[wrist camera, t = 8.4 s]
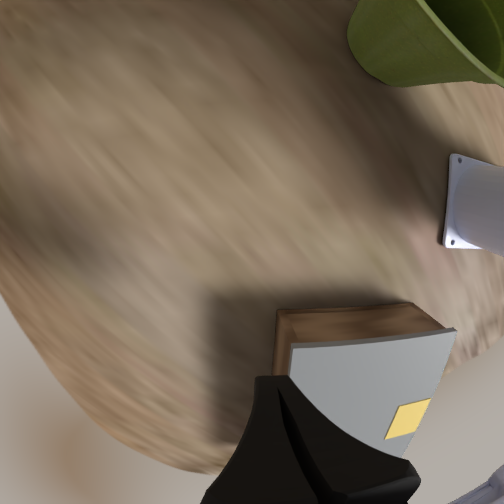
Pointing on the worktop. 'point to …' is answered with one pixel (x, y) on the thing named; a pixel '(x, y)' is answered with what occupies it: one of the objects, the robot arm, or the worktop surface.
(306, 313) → the box base
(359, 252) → the worktop surface
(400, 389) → the lid
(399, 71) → the plant pot
